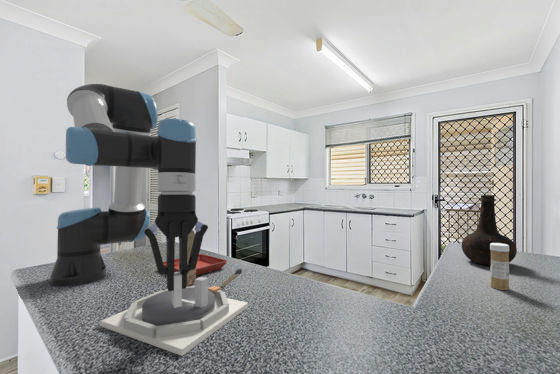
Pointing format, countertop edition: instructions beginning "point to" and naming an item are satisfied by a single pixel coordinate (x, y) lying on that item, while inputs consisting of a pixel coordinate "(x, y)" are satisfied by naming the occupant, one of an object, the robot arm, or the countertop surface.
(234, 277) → the tomahawk
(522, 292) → the countertop surface
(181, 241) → the robot arm
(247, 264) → the countertop surface
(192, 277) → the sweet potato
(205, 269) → the plant saucer
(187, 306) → the dial
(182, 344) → the panel
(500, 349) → the countertop surface
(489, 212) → the dark brown vase
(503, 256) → the sprinkles bottle
